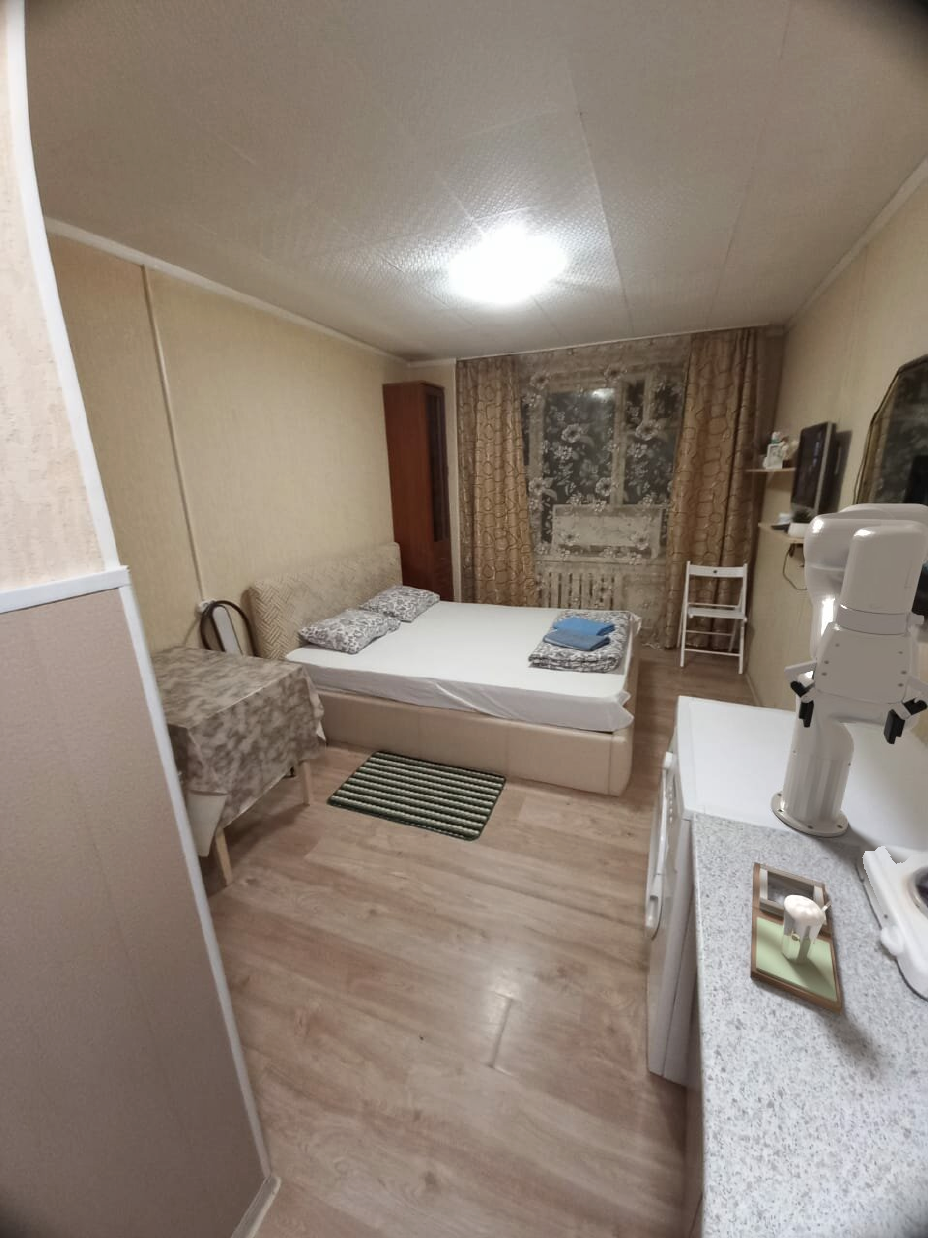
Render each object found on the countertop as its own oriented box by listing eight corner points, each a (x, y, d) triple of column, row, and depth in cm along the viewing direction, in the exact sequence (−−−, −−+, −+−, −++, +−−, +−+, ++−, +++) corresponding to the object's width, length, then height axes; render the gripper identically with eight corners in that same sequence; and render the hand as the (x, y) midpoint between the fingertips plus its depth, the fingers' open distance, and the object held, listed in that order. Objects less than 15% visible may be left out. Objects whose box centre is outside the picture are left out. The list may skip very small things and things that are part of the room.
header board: (753, 867, 85) (755, 856, 84) (823, 890, 80) (826, 878, 80) (750, 977, 67) (752, 963, 67) (839, 1015, 62) (843, 1001, 62)
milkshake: (827, 972, 66) (841, 916, 63) (784, 967, 67) (796, 911, 64) (809, 941, 70) (822, 887, 67) (769, 937, 71) (780, 883, 68)
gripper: (948, 619, 64) (917, 733, 69) (793, 605, 73) (775, 707, 78) (968, 636, 58) (932, 760, 63) (795, 619, 67) (776, 729, 72)
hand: (845, 731), depth 71 cm, fingers open, 9 cm apart
